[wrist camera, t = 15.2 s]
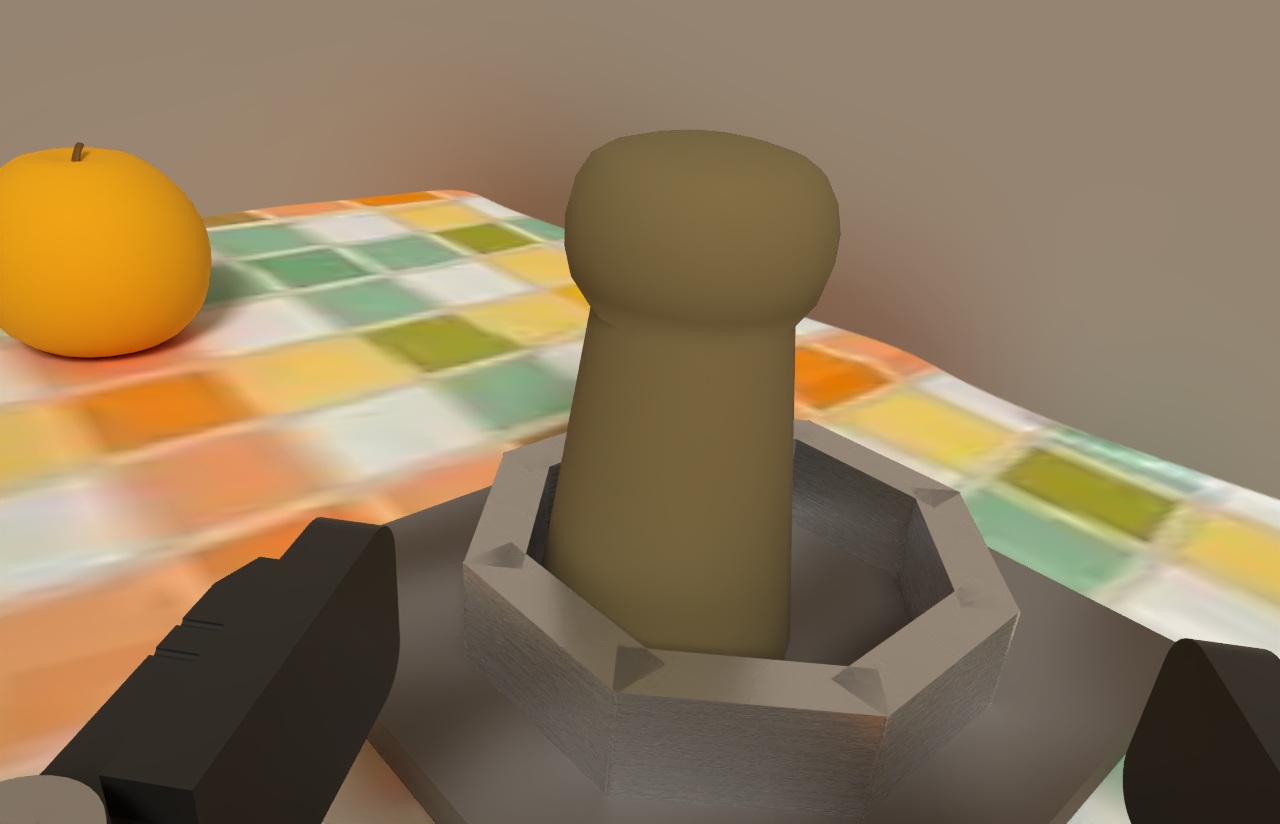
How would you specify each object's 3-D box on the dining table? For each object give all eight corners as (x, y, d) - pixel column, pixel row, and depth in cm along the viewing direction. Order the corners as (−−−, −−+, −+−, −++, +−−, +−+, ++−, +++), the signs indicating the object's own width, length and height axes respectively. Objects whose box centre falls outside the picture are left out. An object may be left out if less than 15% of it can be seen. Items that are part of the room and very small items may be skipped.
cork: (705, 526, 26) (756, 110, 21) (843, 666, 21) (951, 169, 16) (494, 574, 23) (497, 110, 18) (597, 747, 18) (638, 182, 13)
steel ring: (386, 582, 22) (381, 493, 21) (714, 451, 29) (723, 378, 28) (741, 929, 15) (761, 820, 14) (1062, 641, 22) (1092, 554, 21)
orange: (-67, 369, 33) (-128, 154, 30) (77, 297, 40) (41, 117, 37) (149, 394, 32) (111, 178, 29) (257, 317, 39) (236, 136, 36)
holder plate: (257, 604, 23) (253, 570, 22) (708, 432, 33) (711, 406, 32) (745, 1202, 12) (754, 1161, 12) (1183, 685, 23) (1197, 653, 22)
